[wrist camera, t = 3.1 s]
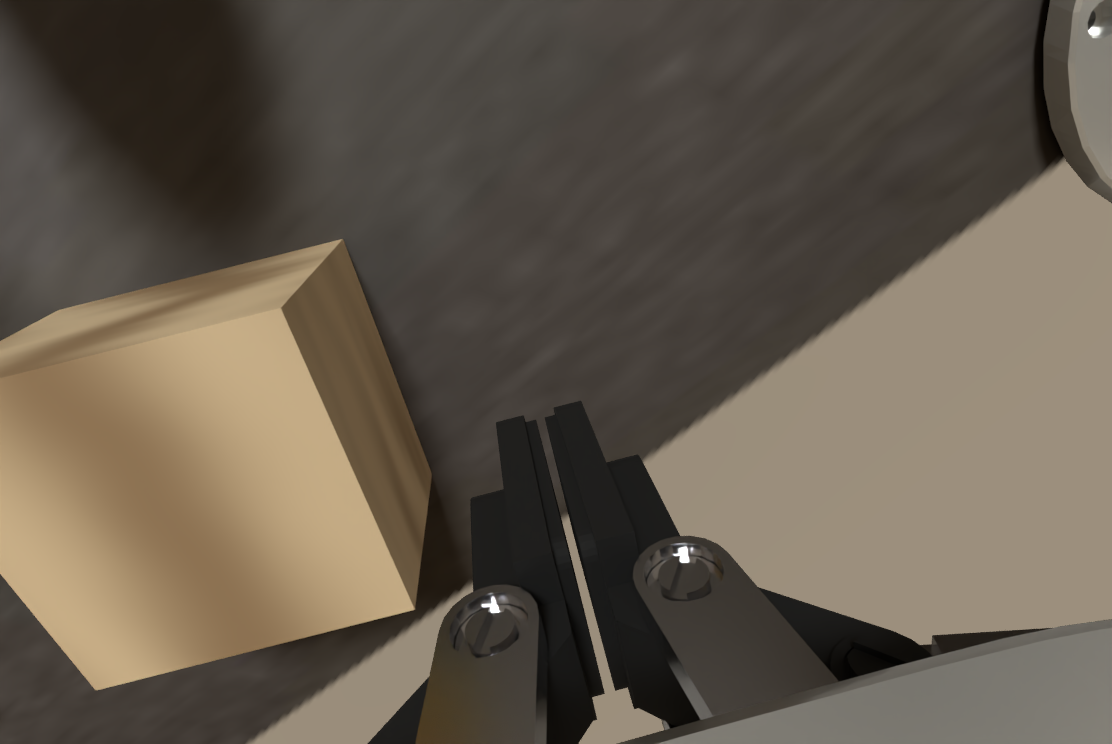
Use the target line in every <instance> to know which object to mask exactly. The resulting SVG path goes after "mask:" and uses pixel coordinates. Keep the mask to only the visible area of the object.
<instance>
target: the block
mask: <svg viewBox="0 0 1112 744" xmlns="http://www.w3.org/2000/svg"><path fill="white" fill-rule="evenodd" d="M431 478H432V473H431V470H430V468H429V465H428V462H427V460H426V457H425V454H424V452H423V449H422V446H421V444H420V441H419V439H418V436H417V433H416V431H415V428H414V425H413V423H412V420H411V417H410V415H409V412H408V409H407V407H406V404H405V402H404V399H403V396H402V394H401V391H400V388H399V386H398V383H397V380H396V378H395V375H394V372H393V370H392V367H391V365H390V362H389V359H388V357H387V354H386V351H385V349H384V346H383V343H382V341H381V338H380V335H379V333H378V330H377V328H376V325H375V322H374V320H373V317H372V314H371V312H370V309H369V306H368V304H367V301H366V298H365V296H364V293H363V291H362V288H361V285H360V283H359V280H358V277H357V275H356V272H355V269H354V267H353V264H352V261H351V259H350V256H349V254H348V251H347V248H346V246H345V243H344V240H343V239H341V240H337V241H333V242H329V243H325V244H321V245H317V246H313V247H309V248H305V249H301V250H297V251H293V252H289V253H285V254H281V255H277V256H273V257H269V258H265V259H261V260H257V261H253V262H249V263H245V264H241V265H237V266H233V267H229V268H225V269H221V270H217V271H213V272H209V273H205V274H201V275H197V276H193V277H189V278H185V279H181V280H177V281H173V282H169V283H165V284H161V285H157V286H153V287H149V288H145V289H141V290H137V291H133V292H129V293H125V294H121V295H117V296H113V297H109V298H105V299H101V300H97V301H93V302H89V303H85V304H81V305H77V306H73V307H69V308H65V309H61V310H58V311H56V312H54V313H52V314H50V315H48V316H47V317H45V318H43V319H41V320H39V321H37V322H35V323H33V324H32V325H30V326H28V327H26V328H24V329H22V330H20V331H18V332H16V333H15V334H13V335H11V336H9V337H7V338H5V339H3V340H1V341H0V574H1V575H2V576H3V578H4V579H5V580H6V581H7V583H8V584H9V585H10V586H11V587H12V589H13V590H14V591H15V592H16V594H17V595H18V596H19V597H20V598H21V600H22V601H23V602H24V603H25V605H26V606H27V607H28V608H29V609H30V611H31V612H32V613H33V614H34V616H35V617H36V618H37V619H38V620H39V622H40V623H41V624H42V625H43V626H44V628H45V629H46V630H47V631H48V633H49V634H50V635H51V636H52V637H53V639H54V640H55V641H56V642H57V644H58V645H59V646H60V647H61V648H62V650H63V651H64V652H65V653H66V655H67V656H68V657H69V658H70V659H71V661H72V662H73V663H74V664H75V666H76V667H77V668H78V669H79V670H80V672H81V673H82V674H83V675H84V677H85V678H86V679H87V680H88V681H89V683H90V684H91V685H92V686H93V688H94V689H95V690H100V689H104V688H108V687H112V686H115V685H119V684H123V683H127V682H131V681H135V680H139V679H143V678H147V677H151V676H155V675H159V674H163V673H167V672H171V671H175V670H179V669H183V668H187V667H191V666H194V665H198V664H202V663H206V662H210V661H214V660H218V659H222V658H226V657H230V656H234V655H238V654H242V653H246V652H250V651H254V650H258V649H262V648H266V647H270V646H273V645H277V644H281V643H285V642H289V641H293V640H297V639H301V638H305V637H309V636H313V635H317V634H321V633H325V632H329V631H333V630H337V629H341V628H345V627H348V626H352V625H356V624H360V623H364V622H368V621H372V620H376V619H380V618H384V617H388V616H392V615H396V614H400V613H404V612H408V611H412V610H415V604H416V597H417V589H418V581H419V573H420V565H421V557H422V549H423V541H424V533H425V525H426V518H427V510H428V502H429V494H430V486H431Z"/></svg>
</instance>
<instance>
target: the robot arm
mask: <svg viewBox="0 0 1112 744" xmlns="http://www.w3.org/2000/svg"><path fill="white" fill-rule="evenodd" d="M1043 53H1044V92H1045V98H1046V103H1047V108H1048V113H1049V118H1050V123H1051V128H1052V130H1053V132H1054V135H1055V137H1056V139H1057V141H1058V143H1059V146H1060V148H1061V150H1062V152H1063V154H1064V157H1065V159H1066V161H1067V162H1068V163H1069V165H1070V166H1071V167H1072V168H1073V170H1074V171H1075V172H1076V173H1077V174H1078V176H1079V177H1080V178H1081V179H1082V181H1083V182H1084V183H1085V184H1086V185H1087V186H1088V187H1089V188H1090V189H1092V190H1093V191H1095V192H1096V193H1098V194H1099V195H1101V196H1102V197H1104V198H1105V199H1107V200H1108V201H1110V202H1111V203H1112V0H1050V4H1049V10H1048V16H1047V23H1046V29H1045V35H1044V41H1043ZM554 412H555V415H553V416H549V417H545V421H546V425H547V429H548V433H549V437H550V441H551V445H552V449H553V453H554V457H555V461H556V465H557V469H558V473H559V478H560V482H561V486H562V490H563V494H564V498H565V502H566V506H567V510H568V514H569V518H570V522H571V526H572V530H573V534H574V538H575V541H576V546H577V549H578V553H579V557H580V561H581V564H582V568H583V571H584V576H585V579H586V583H587V587H588V590H589V594H590V598H591V602H592V606H593V609H594V613H595V617H596V621H597V624H598V628H599V632H600V636H601V639H602V643H603V647H604V650H605V654H606V658H607V662H608V666H609V669H610V673H611V677H612V680H613V684H614V688H615V690H619V689H623V688H627V687H628V690H629V693H630V696H631V700H632V703H633V707H634V709H636V708H640V709H642V710H644V711H646V712H648V713H650V714H652V715H654V716H656V717H658V718H660V719H662V724H663V727H664V731H660V732H657V733H653V734H650V735H646V736H643V737H639V738H635V739H632V740H628V741H625V742H621V743H618V744H1112V620H1103V621H1095V622H1089V623H1081V624H1074V625H1067V626H1060V627H1056V628H1045V629H1029V630H1012V631H996V632H980V633H964V634H948V635H933V636H932V644H931V645H918V644H917V643H916V642H915V641H913V640H912V639H909V638H907V637H905V636H903V635H900V634H898V633H896V632H894V631H891V630H888V629H884V628H882V627H879V626H875V625H872V624H869V623H866V622H863V621H860V620H857V619H854V618H851V617H848V616H845V615H841V614H839V613H836V612H832V611H829V610H826V609H823V608H820V607H817V606H814V605H811V604H808V603H805V602H802V601H799V600H796V599H792V598H789V597H786V596H783V595H780V594H777V593H774V592H771V591H768V590H765V589H761V588H759V587H757V586H756V585H755V583H754V582H753V581H752V580H751V579H750V578H749V576H748V575H747V574H746V573H745V572H744V571H743V569H742V568H741V567H740V566H739V565H738V564H737V563H736V561H735V560H734V559H733V558H732V557H731V556H730V554H729V553H728V552H727V551H725V550H724V549H723V548H722V547H721V546H719V545H718V544H716V543H714V542H712V541H709V540H707V539H705V538H699V537H694V536H680V535H679V533H678V531H677V529H676V527H675V525H674V523H673V521H672V519H671V517H670V515H669V513H668V511H667V509H666V507H665V505H664V503H663V501H662V499H661V497H660V495H659V493H658V491H657V489H656V487H655V485H654V483H653V482H652V480H651V478H650V476H649V474H648V472H647V470H646V468H645V466H644V464H643V462H642V460H641V458H640V457H639V455H634V456H630V457H626V458H622V459H619V460H615V461H611V462H607V463H606V461H605V458H604V456H603V453H602V451H601V448H600V446H599V444H598V441H597V439H596V436H595V434H594V431H593V429H592V426H591V424H590V422H589V419H588V417H587V414H586V412H585V409H584V407H583V404H582V402H581V401H578V402H574V403H570V404H566V405H562V406H558V407H554ZM496 427H497V436H498V444H499V452H500V461H501V469H502V477H503V486H504V489H503V490H500V491H496V492H492V493H488V494H484V495H480V496H477V497H473V498H471V504H470V505H471V535H472V565H473V592H472V593H470V594H468V595H466V596H465V597H463V598H462V599H461V600H460V601H459V602H457V603H456V604H455V605H454V606H453V607H452V608H451V609H450V611H449V612H448V613H447V615H446V616H445V617H444V620H443V622H442V624H441V627H440V630H439V634H438V638H437V643H436V648H435V652H434V658H433V662H432V667H431V671H430V676H429V678H428V679H427V680H426V681H425V682H424V683H423V684H422V685H421V686H420V688H419V689H418V690H416V692H415V693H414V694H413V695H412V696H411V697H410V698H409V699H408V700H407V701H406V702H405V704H404V705H403V706H402V707H401V708H400V709H399V710H398V711H397V712H396V714H395V715H394V716H393V717H392V718H391V719H390V720H389V721H388V722H387V723H386V724H385V725H384V726H383V728H382V729H381V730H380V731H379V732H378V733H377V734H376V735H375V736H374V737H373V738H372V739H371V741H370V742H369V743H368V744H578V743H579V741H580V740H581V738H582V737H583V735H584V734H585V732H586V731H587V729H588V728H589V726H590V724H591V723H592V721H593V720H597V718H596V713H595V709H594V704H593V700H592V697H594V696H598V695H602V694H604V689H603V685H602V681H601V677H600V673H599V669H598V665H597V661H596V657H595V653H594V649H593V645H592V641H591V637H590V633H589V629H588V625H587V620H586V617H585V613H584V608H583V604H582V601H581V596H580V592H579V588H578V584H577V580H576V576H575V572H574V568H573V564H572V560H571V556H570V552H569V548H568V544H567V540H566V536H565V532H564V528H563V524H562V520H561V516H560V512H559V508H558V504H557V500H556V496H555V493H554V489H553V485H552V481H551V477H550V473H549V469H548V465H547V461H546V457H545V453H544V449H543V445H542V441H541V438H540V434H539V430H538V426H537V422H536V420H533V421H529V422H525V419H524V416H519V417H515V418H511V419H507V420H503V421H500V422H496Z"/></svg>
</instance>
